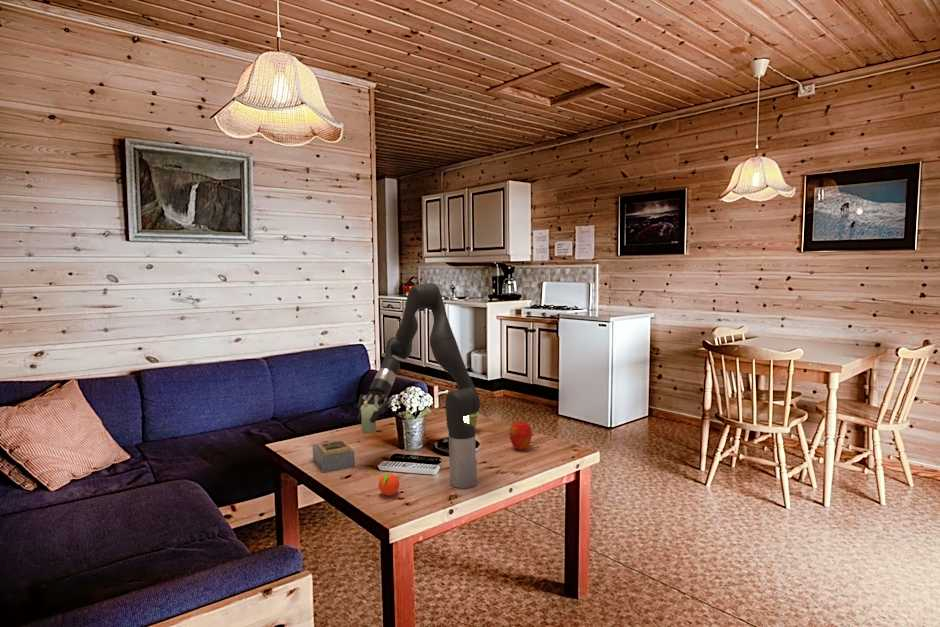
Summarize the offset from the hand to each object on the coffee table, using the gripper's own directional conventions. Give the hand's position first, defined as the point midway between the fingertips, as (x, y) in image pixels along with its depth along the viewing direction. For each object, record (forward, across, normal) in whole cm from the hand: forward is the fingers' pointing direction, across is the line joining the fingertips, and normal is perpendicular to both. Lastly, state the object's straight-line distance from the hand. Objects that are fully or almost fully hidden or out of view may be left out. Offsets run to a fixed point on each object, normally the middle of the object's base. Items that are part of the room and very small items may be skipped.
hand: (365, 420), depth 213 cm
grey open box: (+14, -15, +12) cm, 24 cm away
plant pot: (-24, +16, +50) cm, 58 cm away
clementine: (+25, +21, +1) cm, 33 cm away
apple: (-17, +45, +43) cm, 64 cm away
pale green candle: (+2, 0, +5) cm, 5 cm away
